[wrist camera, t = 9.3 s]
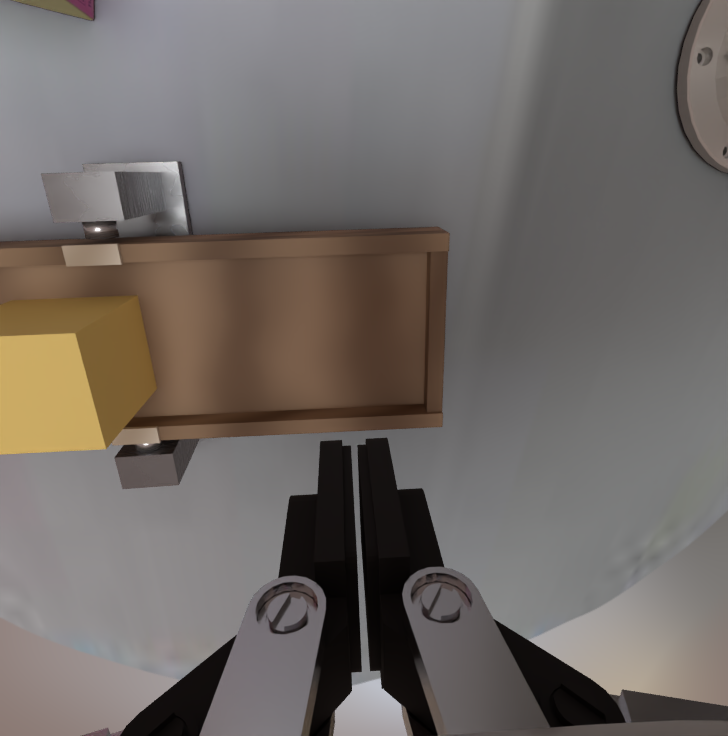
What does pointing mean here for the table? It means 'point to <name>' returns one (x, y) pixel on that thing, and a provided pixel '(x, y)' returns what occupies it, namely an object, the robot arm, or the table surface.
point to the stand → (118, 220)
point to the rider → (71, 372)
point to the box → (65, 6)
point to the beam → (266, 325)
